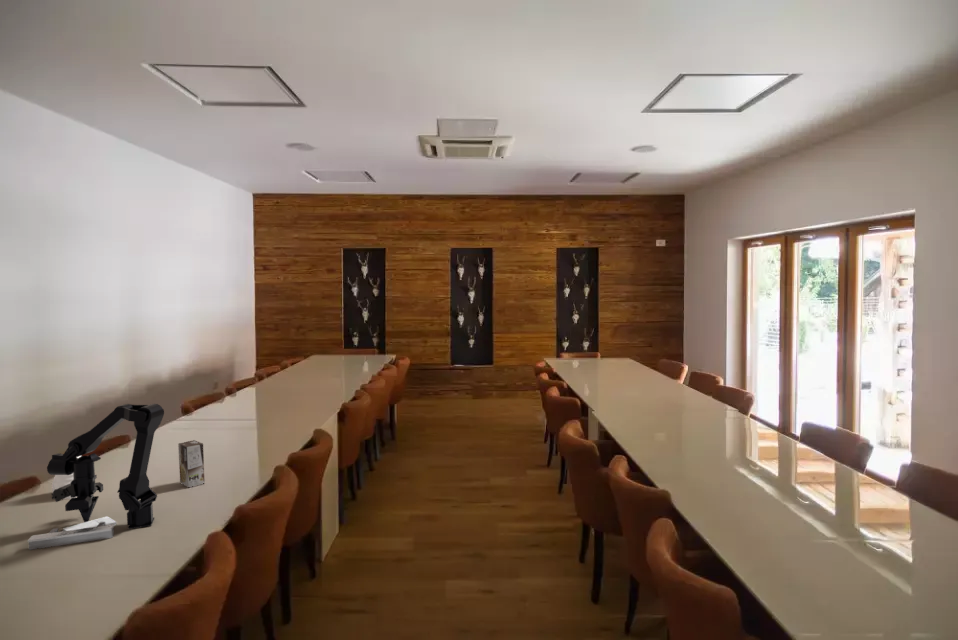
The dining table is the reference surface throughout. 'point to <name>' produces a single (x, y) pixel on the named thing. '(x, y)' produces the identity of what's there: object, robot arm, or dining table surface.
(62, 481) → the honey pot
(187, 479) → the coffee box
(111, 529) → the grey door handle
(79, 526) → the external hard drive
